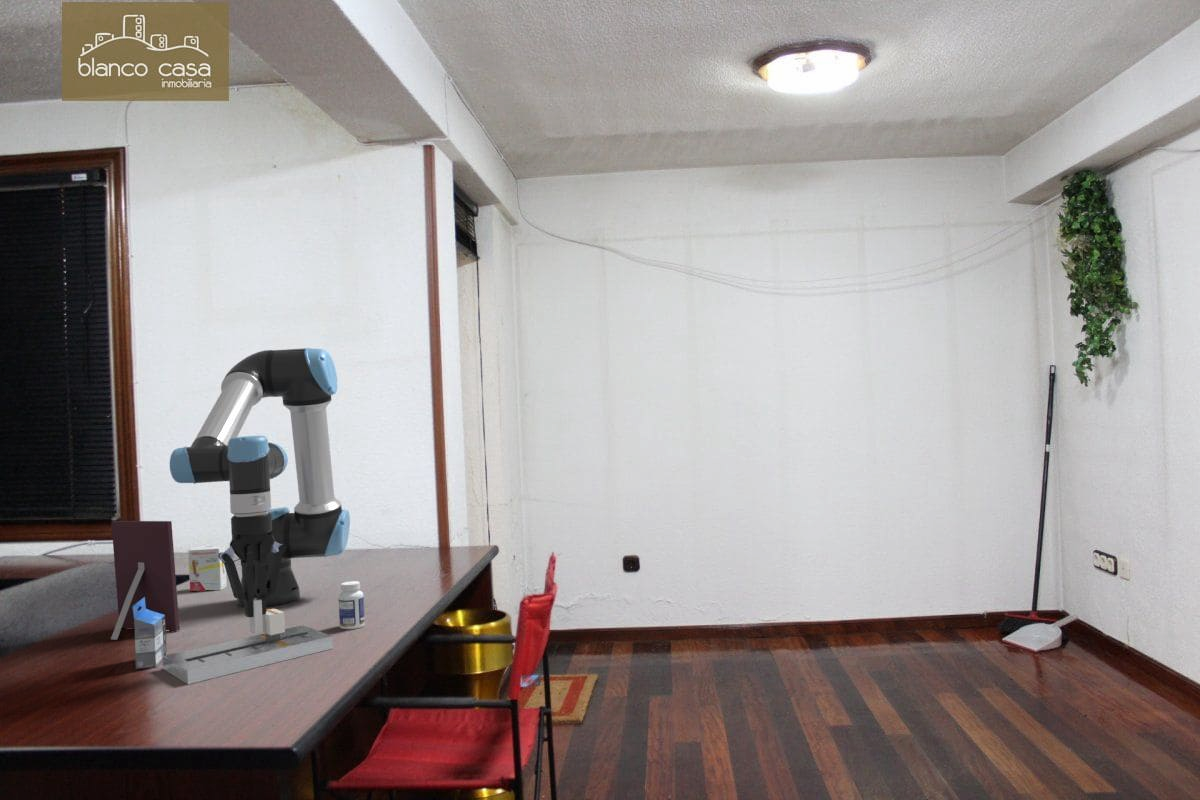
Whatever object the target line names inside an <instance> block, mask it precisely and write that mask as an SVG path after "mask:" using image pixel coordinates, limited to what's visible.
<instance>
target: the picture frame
mask: <svg viewBox="0 0 1200 800" xmlns="http://www.w3.org/2000/svg"><path fill="white" fill-rule="evenodd" d="M172 522H173V521H172V520H114V521H113V520H112V521H111V522H110V523H111V535H112V547H113V548H112V549H113V561H114V572H115V585H116V586H115V587H116V597H117V598H116V600H117V610H118V617H117V618H118V619H117V621H116V623H115V627H114V629H113V632H112V634H111V637H110V640H114V641H115V640H118V639H119V635H120V632H121V631H122V629H121V628H134V615H133V608H132V606H133V605H135V604H136V603H137V602H139V601H140V600H141V599H143V598H144V597H145V606H146V609H148V610H151V611H153V612H157V613H160V614H163V615H165V625H166V630H169V631H177V630H180V616H179V615H180V614H179V605H178V604H179V602H178V589H177V588H178V587H177V577H176V576H177V575H176V564H175V563H176V562H175V552H174V551H175V550H174V537H173V525H172ZM139 610H141V607H140V606H139V608H138V611H139ZM177 632H178V631H177Z"/></svg>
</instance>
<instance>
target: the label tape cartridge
mask: <svg viewBox="0 0 1200 800" xmlns="http://www.w3.org/2000/svg"><path fill="white" fill-rule="evenodd" d="M139 606H140V607H141V610H139V611H138V608H139ZM132 608H133V615H134V628H135V630H134V650H135V654H134V655H135V670H141V669H153V668H157V666H159V664H160V663H161V662H163V656H165V655H168V654H167V651H168V649H167V631H166V625H165V615H163V614H160V613H157V612H153V611H151V610H148V609H146V606H145V597H144V598H143V599H141V600H140V601H139V602H137V603H136V604H135V605H133V606H132Z"/></svg>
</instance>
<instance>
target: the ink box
mask: <svg viewBox="0 0 1200 800" xmlns="http://www.w3.org/2000/svg"><path fill="white" fill-rule="evenodd" d="M225 551H226V545H224V544H221V545H220V544H217V545H202V546H201V545H198V546H194V547H192V548H190V549H188V551H187V552H188V553H187V554H188V574H189V592H190V591H200V592H207V591H206V590H215V591H222V590H224V589H225V588H227V584H228V583H227V572H226V569H225V566H224V563H223V562H222V561H221V560H220V558H219V557H218V555H219V553H221V552H222V553H223V552H225Z"/></svg>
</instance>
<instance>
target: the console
mask: <svg viewBox="0 0 1200 800" xmlns="http://www.w3.org/2000/svg"><path fill="white" fill-rule="evenodd" d="M333 638H334V637H333V635H330V634H328V633H325V632H322V631H319V630H316V629H313V628H311V627H309V626H306V625H303V624H300V625H296V626H292V627H286V628H285V632H283V633H280V640H278V641H275V642H270V643H266V633H259V634H255V635H251V636H247V637H242V638H238V639H234V640H229V641H224V642H221V643H216V644H210V645H207V646H202V647H198V648H193V649H188V650H184V651H180V652H179V651H178V652H175V653H172V654H171V653H170V654H167V655H165V656H163V660H162V669H163V671H165V672H167V673H169V674H170V675H172V676H173V677H175V678H177V679H179V680H180V681H182V682H184V683H185V684H187V685H191V684H194V683H200V682H203V681H208V680H211V679H215V678H220V677H223V676H227V675H232V674H235V673H239V672H240V673H241V672H244V671H248V670H252V669H255V668H260V667H263V666H267V665H272V664H275V663H276V664H277V663H281V662H284V661H287V660H291V659H295V658H300V657H305V656H308V655H313V654H317V653H319V652H320V653H321V652H324V651H329V650H333V649H334V639H333Z"/></svg>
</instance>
